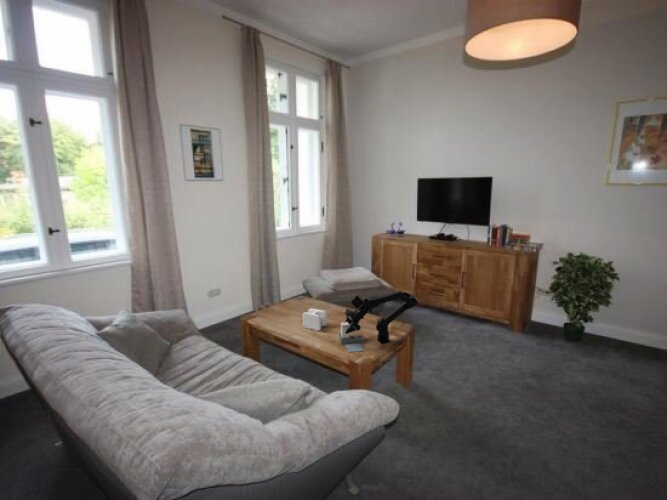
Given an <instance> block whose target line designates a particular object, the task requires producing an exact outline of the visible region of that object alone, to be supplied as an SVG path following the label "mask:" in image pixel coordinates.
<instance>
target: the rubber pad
mask: <svg viewBox="0 0 667 500" xmlns="http://www.w3.org/2000/svg"><path fill="white" fill-rule="evenodd" d="M344 345H345V347H346V350H347V352H348V353H355V352H356V353H357V352H365V349H364V347H363V346H362V343H353V344H344Z"/></svg>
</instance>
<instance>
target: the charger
mask: <svg viewBox="0 0 667 500" xmlns="http://www.w3.org/2000/svg"><path fill="white" fill-rule="evenodd" d="M349 327H350V324H348V322H345V321H344V322H340V334H341V338H349V335H350V333H348V334H346V333H345V332H346V331H347V329H348V328H349Z"/></svg>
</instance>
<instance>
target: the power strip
mask: <svg viewBox="0 0 667 500" xmlns="http://www.w3.org/2000/svg"><path fill="white" fill-rule="evenodd" d="M338 336H339V337H338V340H339V342H340V345H341V346H343V345H345V344H355V343H360V344H363V343H366V342H367V341H366V337H365V335H364V334H363V333H362V334H349V338H341V333H339V334H338Z"/></svg>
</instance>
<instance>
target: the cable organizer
mask: <svg viewBox="0 0 667 500" xmlns="http://www.w3.org/2000/svg"><path fill="white" fill-rule="evenodd" d="M327 314H328V313H327V312H326V311H325V310H321V309H317V308H309V309H308V310H307V312H303V313H302V326H303V328H305V329H307V330H309V329H310V330H313V331H316V332H318V331H320V330H321V329H322V327H325V326H326V325H327V324H328V315H327Z"/></svg>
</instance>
